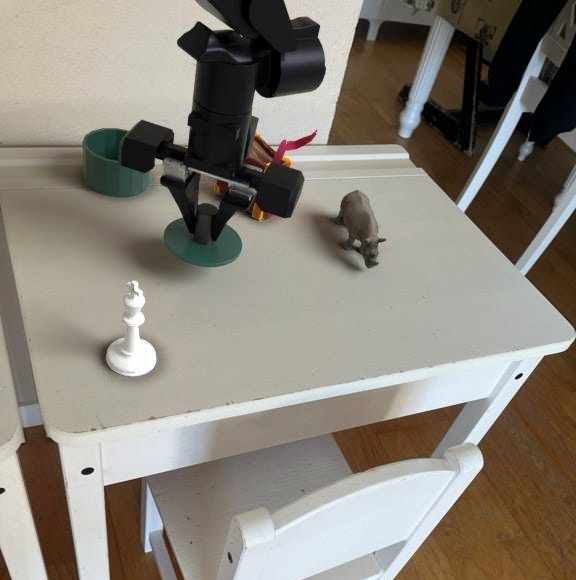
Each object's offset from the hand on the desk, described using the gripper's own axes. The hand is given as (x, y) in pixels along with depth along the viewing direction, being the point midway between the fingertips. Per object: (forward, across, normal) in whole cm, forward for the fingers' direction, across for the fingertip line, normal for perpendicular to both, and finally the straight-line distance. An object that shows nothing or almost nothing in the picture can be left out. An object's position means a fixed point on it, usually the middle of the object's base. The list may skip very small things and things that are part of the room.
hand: (204, 235), depth 71 cm
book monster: (+5, -3, -19) cm, 20 cm away
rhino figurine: (+5, -18, -14) cm, 23 cm away
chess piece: (+5, +2, +17) cm, 18 cm away
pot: (+5, +16, -13) cm, 21 cm away
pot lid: (+1, 0, 0) cm, 1 cm away
